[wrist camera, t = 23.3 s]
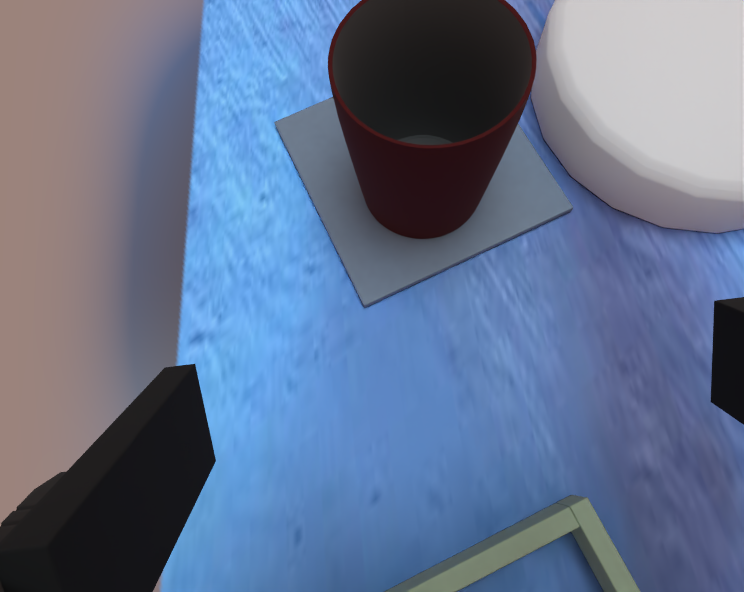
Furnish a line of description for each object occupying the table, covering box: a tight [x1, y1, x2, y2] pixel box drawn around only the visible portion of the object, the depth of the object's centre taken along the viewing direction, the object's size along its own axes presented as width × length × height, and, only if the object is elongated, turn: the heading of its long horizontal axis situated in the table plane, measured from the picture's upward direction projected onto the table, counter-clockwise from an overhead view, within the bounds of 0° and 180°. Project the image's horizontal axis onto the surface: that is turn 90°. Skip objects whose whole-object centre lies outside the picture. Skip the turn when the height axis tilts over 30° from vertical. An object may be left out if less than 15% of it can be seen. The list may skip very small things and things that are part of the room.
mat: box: [275, 97, 573, 307], centre depth 34 cm, size 14×14×1 cm
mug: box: [328, 0, 537, 239], centre depth 29 cm, size 12×9×11 cm
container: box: [531, 0, 744, 233], centre depth 33 cm, size 20×20×5 cm
